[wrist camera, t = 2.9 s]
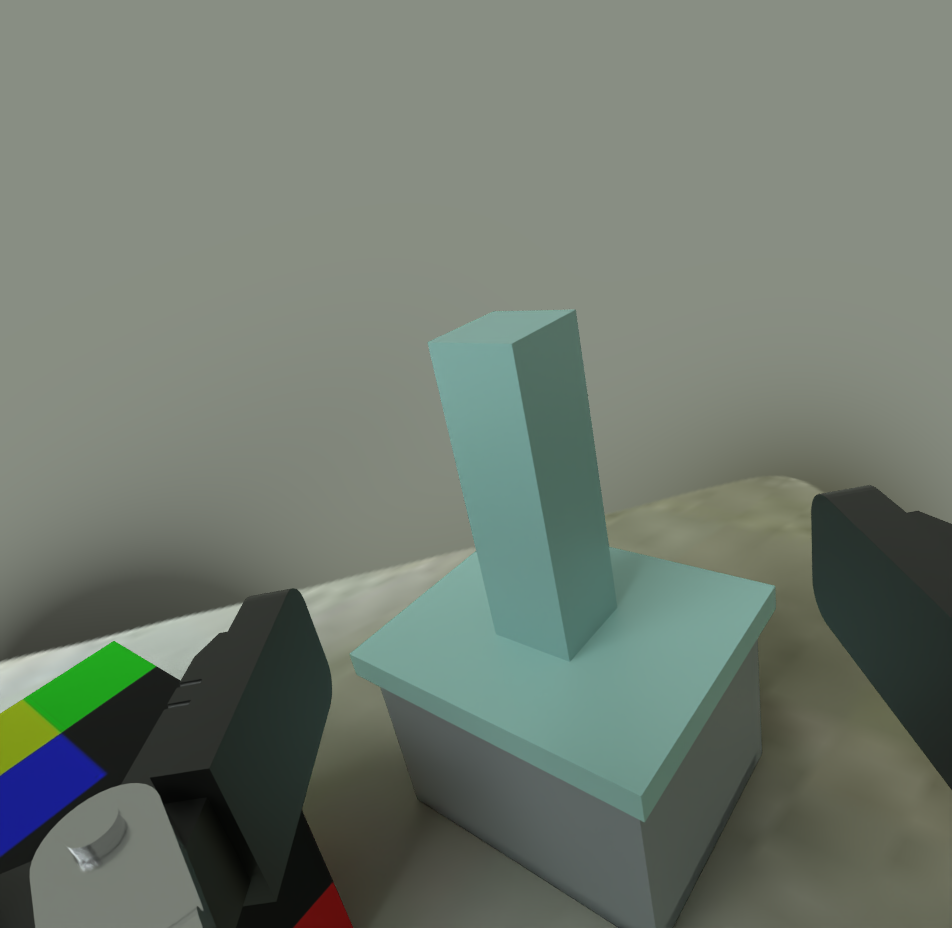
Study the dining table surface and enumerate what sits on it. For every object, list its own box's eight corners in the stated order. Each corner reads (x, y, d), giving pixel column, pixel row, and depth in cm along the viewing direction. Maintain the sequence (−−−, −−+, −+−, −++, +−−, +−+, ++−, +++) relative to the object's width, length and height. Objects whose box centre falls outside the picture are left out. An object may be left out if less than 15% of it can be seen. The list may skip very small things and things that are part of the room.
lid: (356, 674, 26) (252, 375, 21) (513, 541, 32) (461, 289, 28) (644, 823, 18) (584, 402, 13) (775, 608, 25) (767, 273, 20)
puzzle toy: (77, 1304, 17) (-149, 1098, 13) (-45, 1049, 23) (-224, 856, 19) (359, 943, 24) (268, 733, 20) (207, 819, 30) (113, 640, 26)
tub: (417, 799, 29) (374, 670, 26) (539, 666, 35) (515, 549, 32) (659, 953, 22) (636, 800, 19) (762, 753, 27) (756, 612, 25)
